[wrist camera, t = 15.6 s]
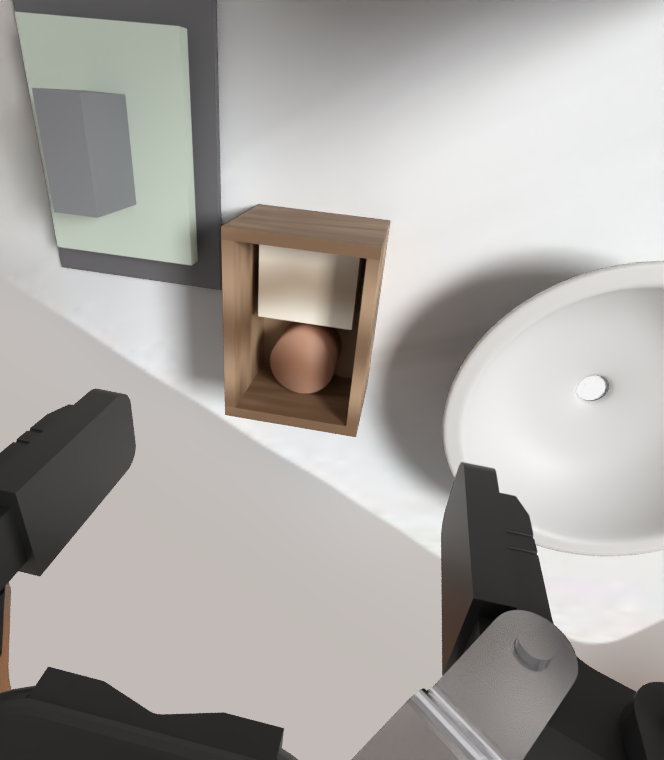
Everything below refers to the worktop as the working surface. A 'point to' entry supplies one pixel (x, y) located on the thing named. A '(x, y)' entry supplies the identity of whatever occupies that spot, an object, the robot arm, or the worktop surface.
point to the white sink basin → (572, 411)
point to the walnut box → (300, 315)
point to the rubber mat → (199, 16)
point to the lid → (114, 133)
